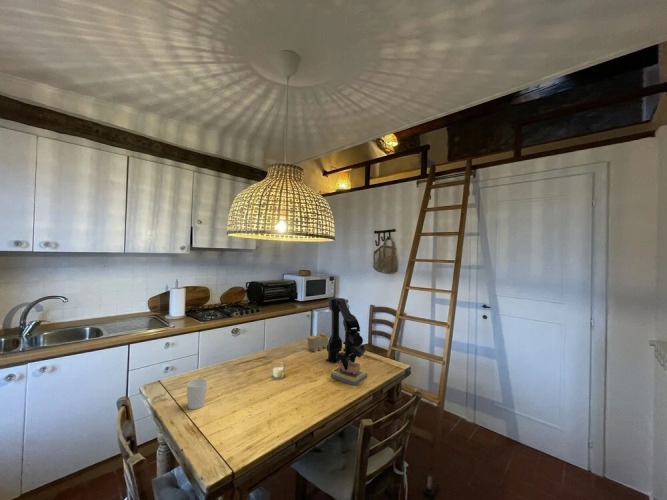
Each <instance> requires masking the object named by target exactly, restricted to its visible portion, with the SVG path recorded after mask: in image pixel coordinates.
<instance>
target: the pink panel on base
mask: <svg viewBox="0 0 667 500" xmlns="http://www.w3.org/2000/svg"><path fill="white" fill-rule="evenodd" d="M338 366H339V369H340V371H346V372H349V373H351V375H353V374H355V373H357V372H358V371H360V370H361V369H360V368H361V363H358V362H351V361H350V360H349V361H348V368H347V370H345V369H344V366H343V364H342V362H341V360H339V361H338Z"/></svg>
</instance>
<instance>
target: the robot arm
mask: <svg viewBox="0 0 667 500" xmlns="http://www.w3.org/2000/svg"><path fill="white" fill-rule="evenodd" d="M328 308H329V310H330V312H331V335H330V337H329V338H328V341H329V343H328V345H327V347H326V348H325V349H326V352H327V353H328V355H327V356H328V358H327V359H326V361H327V362H331V363H333V364H335V363H337V362H338V363H339V361H341V362H342V364H343V366H344V369H345V370H347V368H348V361H351V362H355V361H356V359H357V358H359V359H360V358H362V357H363V356H364V354H365V353H366V347H365V345H362V344H363V343H364V339H363V337H362V335H361V333H360V332H361V327H360V324H359V320H358V319H357V317H356V316H355V315H354V314H352V313H351V311H350V309H349V307H348V305H347V304H346V299H345V298H343V297H342V298H339V297H338V298H330V299H329V300H328ZM340 314H341V316H342V318H343V320H342V321H343V322H342V323H343V327H344V329H343V330H344V332H345V334H344V341H342V338H341V337H340ZM343 345H344V349H342V348H343ZM355 363H356V362H355Z"/></svg>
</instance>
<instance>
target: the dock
mask: <svg viewBox="0 0 667 500" xmlns="http://www.w3.org/2000/svg"><path fill="white" fill-rule="evenodd" d="M330 378H331V379H335V380H338V381H340V382H343V383H346V384H349V385H352V386H354V387H356V386H357V385H359V384H360V383H362V381H363V380H365V379H367V378H368V373H367V371H358V372H357V373H355V374H353V375H351V373H349V372H346V371H340V369H339V365H338V366H336V367H335V368H334V369H331V370H330Z"/></svg>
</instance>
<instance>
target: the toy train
mask: <svg viewBox="0 0 667 500" xmlns="http://www.w3.org/2000/svg"><path fill="white" fill-rule="evenodd" d="M306 339H307V347H308V350H309V351H312V352H314V353H317V352H318V351H322V350H323V349H326V347H327V345H328V343H329V337H328V333H323V332H320V334H319V335H314V334H313V335H310V336H309V335H308V336H307V337H306ZM316 351H317V352H316Z"/></svg>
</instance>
